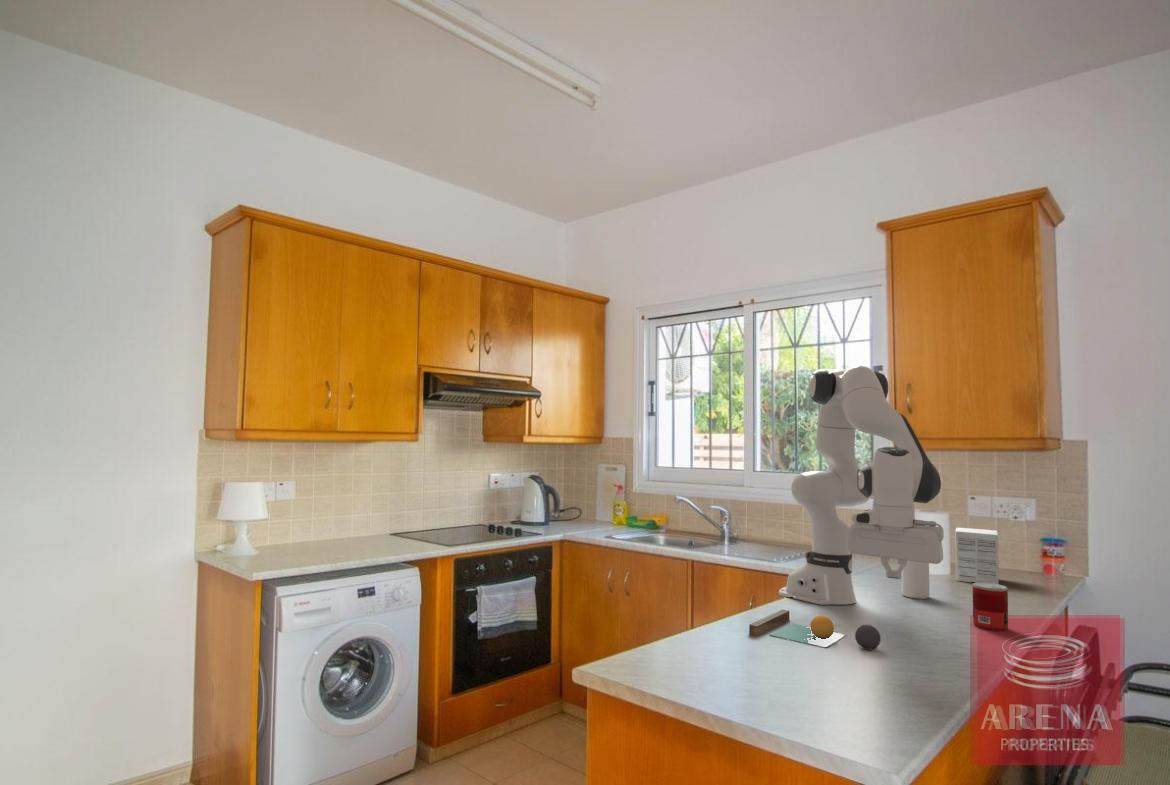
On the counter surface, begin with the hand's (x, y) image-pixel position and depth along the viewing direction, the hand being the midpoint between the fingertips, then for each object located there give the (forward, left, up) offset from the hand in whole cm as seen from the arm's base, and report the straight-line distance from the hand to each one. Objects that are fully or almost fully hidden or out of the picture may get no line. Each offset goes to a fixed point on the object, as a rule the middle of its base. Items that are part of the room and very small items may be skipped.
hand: (893, 578), depth 154 cm
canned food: (+13, +42, -17) cm, 47 cm away
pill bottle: (-11, +66, -17) cm, 69 cm away
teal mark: (-20, 0, -17) cm, 26 cm away
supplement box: (-1, +110, -17) cm, 111 cm away
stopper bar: (-30, 0, -17) cm, 35 cm away
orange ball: (-17, 0, -14) cm, 22 cm away
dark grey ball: (-6, -1, -14) cm, 15 cm away
